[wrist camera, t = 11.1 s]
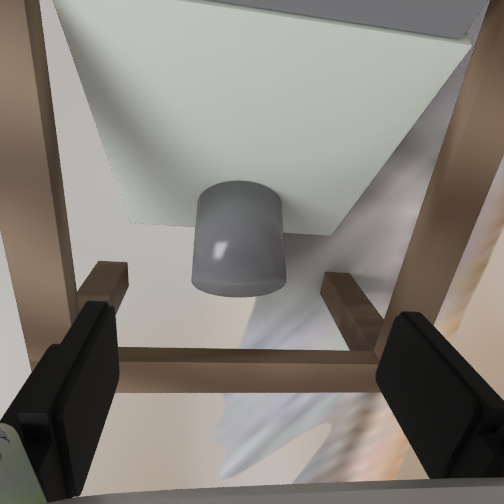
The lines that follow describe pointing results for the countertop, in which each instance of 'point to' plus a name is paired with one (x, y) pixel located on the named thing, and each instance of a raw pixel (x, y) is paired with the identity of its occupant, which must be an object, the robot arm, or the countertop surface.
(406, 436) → the robot arm
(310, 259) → the countertop surface
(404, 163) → the countertop surface
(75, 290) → the trapdoor frame
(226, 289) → the metal canister
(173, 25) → the trapdoor
